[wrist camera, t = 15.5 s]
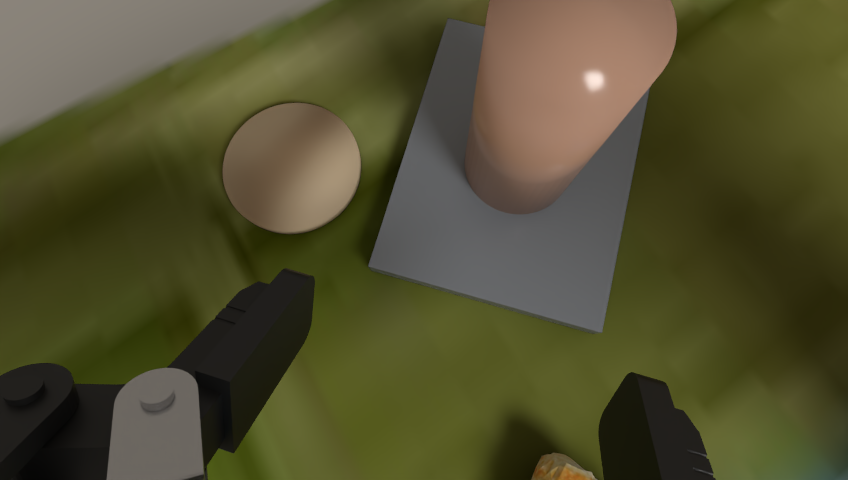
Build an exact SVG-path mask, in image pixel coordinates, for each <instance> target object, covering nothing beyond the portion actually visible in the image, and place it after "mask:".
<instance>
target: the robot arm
mask: <svg viewBox="0 0 848 480" xmlns="http://www.w3.org/2000/svg"><path fill="white" fill-rule="evenodd" d="M314 285H315V279H314V277H313V276H310V275H307V274H304V273H300V272H297V271H294V270H290V269H287V268H285V269H283V270H282V271H281V272H280V273H279V274H278V275H277V276H276V277H275V279H274V280H273V281H272V282H271V283H270V284H266V283H262V282H257V283H255V284H253V285H251V286H249V287H247V288H245V289H243V290H241V291H239V292H238V294H237V295H236V296H235V297H234V298H233V299H232V300H231V301H230V302H229V303H228V304H227V305H226V308H223V309H222V311H221V312H220V313H219V314H218V315H217V316H216V318H215V320H212V321H211V322H210V323H209V324H208V325H207V326H206V327H205V329H204V330H203V331H202V332H201V333H200V334H199V335H198V336H197V337H196V338H195V339H194V340H193V341H192V342H191V343H190V344H189V345H188V347H187V348H186V349H185V350H184V351H183V352H182V353H181V354H180V355H179V356H178V357H177V358H176V359H175V360H174V361H173V362H172V363H171V364H170V365H169V366H168V367H167V368H160V369H155V370H151V371H148V372H145V373H143V374H141V375H139V376H137V377H135V378H134V379H132V380H131V381H129V382H128V383H127V384H122V385H104V384H75V383H74V380H73V377H72V375H71V373H70V372H69V371H68V370H67V369H66V368H64V367H63V366H60V365H57V364H51V363H39V364H31V365H27V366H23V367H19V368H17V369H14V370H11V371H9V372H7V373H5V374H3V375H1V376H0V480H208V474H207V464H208V463H209V462H210V460H211V459H212V457H213V456H214V454H215V453H216V451H217V450H218V448H220V449H223V450H226V451H228V452H231V453H234V452H235V451H236V449H237V448H238V446H239V444H240V443H241V441H242V440H243V438H244V437H245V435H246V433H247V432H248V430H249V429H250V427H251V426H252V424H253V422H254V421H255V419H256V418H257V416H258V415H259V413H260V411H261V410H262V408H263V407H264V405H265V404H266V402H267V400H268V399H269V397H270V396H271V394H272V393H273V391H274V389H275V388H276V386H277V385H278V383H279V382H280V380H281V378H282V377H283V375H284V374H285V372H286V371H287V369H288V367H289V366H290V364H291V363H292V361H293V360H294V358H295V356H296V355H297V353H298V352H299V350H300V349H301V347H302V345H303V344H304V342H305V340H306V338H307V336H308V333H309V330H310V326H311V322H312V311H313V298H314ZM599 443H600V451H601V459H602V467H603V475H604V480H716V479H715V478H713V471H712V468H711V465H710V462H709V459H707V458H706V456H707V453H706V450H705V448H704V445H703V442H702V439H701V436H700V433H699V431H698V430H697V429H696V427H695V426H694V425H693V423H692V422H691V420H690V419H689V418H688V416H687V415H686V413H685V412H684V411H683V410H679V409H676V408H674V405H673V402H672V399H671V395H670V392H669V389H668V386H667V385H666V383H665V382H663V381H660V380H656V379H653V378H650V377H646V376H643V375H640V374H636V373H633V372H631V373H629V374H627V375H626V377H625V378H624V380H623V381H622V383H621V384H620V386H619V388H618V389H617V391H616V392H615V394H614V395H613V397H612V399H611V400H610V402H609V403H608V405H607V407H606V408H605V410H604V411H603V414H602V416H601V419H600V424H599Z"/></svg>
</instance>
